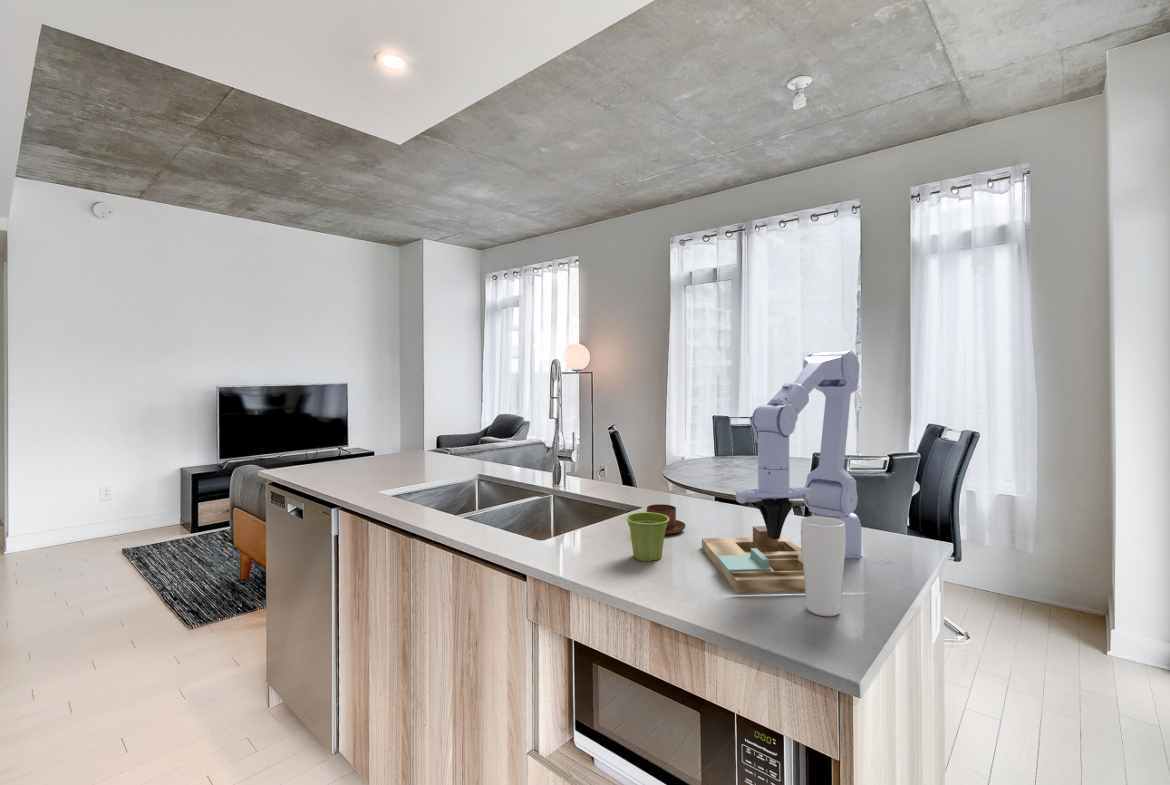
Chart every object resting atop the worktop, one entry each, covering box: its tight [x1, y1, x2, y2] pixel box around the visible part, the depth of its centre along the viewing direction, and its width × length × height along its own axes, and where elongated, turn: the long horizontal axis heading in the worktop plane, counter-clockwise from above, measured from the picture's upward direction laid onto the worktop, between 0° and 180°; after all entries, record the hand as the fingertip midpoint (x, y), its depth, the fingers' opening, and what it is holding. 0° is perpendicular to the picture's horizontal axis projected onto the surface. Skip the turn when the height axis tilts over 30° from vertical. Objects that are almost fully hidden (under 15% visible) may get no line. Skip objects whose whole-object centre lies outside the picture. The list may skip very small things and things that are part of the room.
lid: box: [717, 548, 771, 574], centre depth 106 cm, size 8×8×2 cm
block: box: [752, 525, 778, 552], centre depth 118 cm, size 4×4×6 cm
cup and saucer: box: [646, 503, 686, 536], centre depth 139 cm, size 12×12×6 cm
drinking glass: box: [800, 515, 846, 617], centre depth 91 cm, size 7×7×15 cm
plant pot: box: [625, 511, 669, 562], centre depth 119 cm, size 9×9×9 cm
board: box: [701, 536, 805, 593], centre depth 112 cm, size 19×26×3 cm
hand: (773, 537), depth 106 cm, fingers closed
